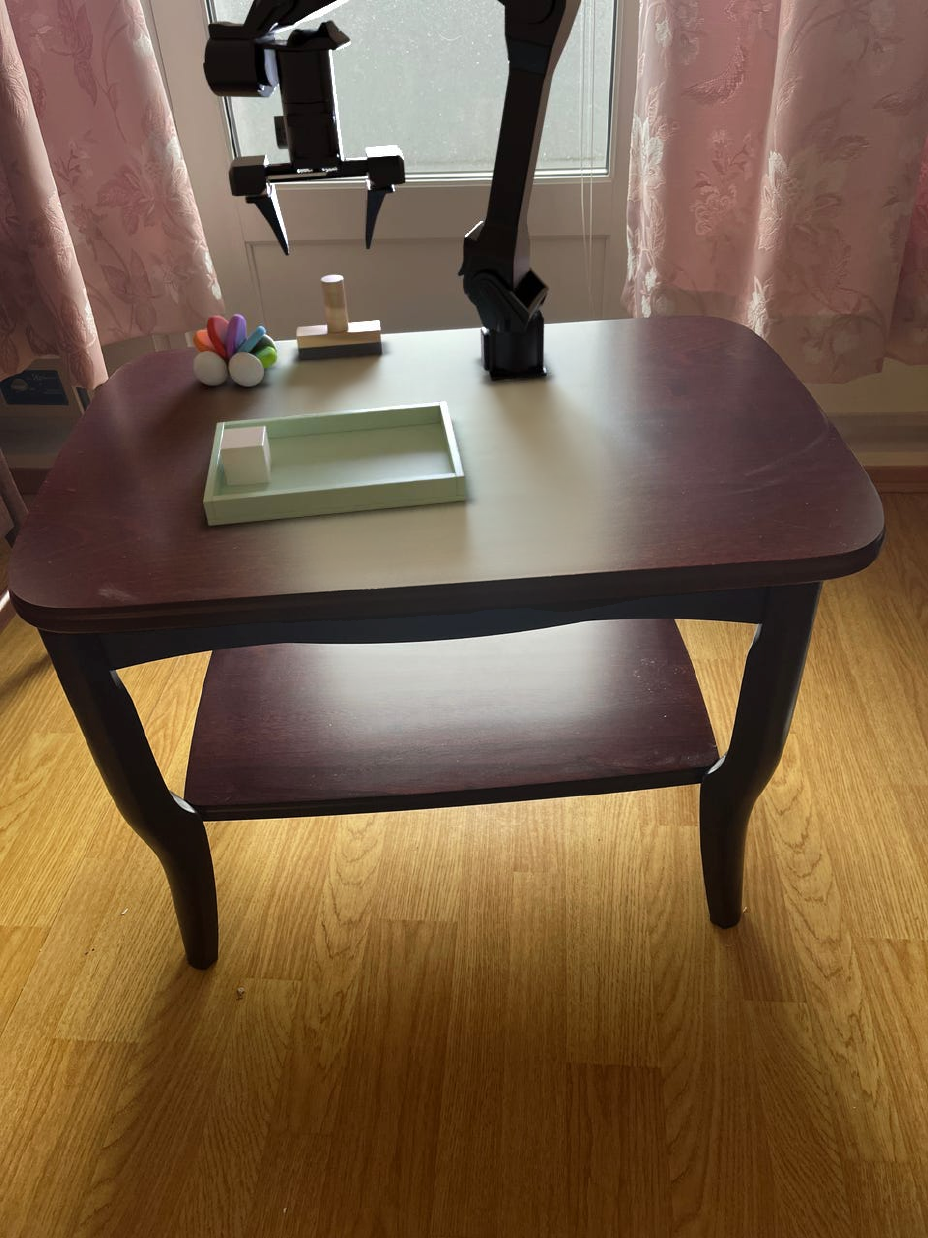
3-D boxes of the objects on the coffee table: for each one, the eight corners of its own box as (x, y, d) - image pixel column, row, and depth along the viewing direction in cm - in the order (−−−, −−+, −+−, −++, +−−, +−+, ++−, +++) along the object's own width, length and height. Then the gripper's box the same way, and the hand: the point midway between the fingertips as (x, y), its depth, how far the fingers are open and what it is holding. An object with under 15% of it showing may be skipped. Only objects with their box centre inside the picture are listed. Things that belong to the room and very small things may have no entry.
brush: (300, 350, 117) (289, 277, 111) (381, 343, 118) (374, 270, 112) (299, 360, 115) (288, 285, 109) (382, 353, 115) (375, 279, 110)
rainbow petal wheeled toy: (213, 359, 116) (201, 300, 111) (290, 361, 114) (280, 302, 110) (187, 389, 109) (172, 328, 105) (267, 392, 108) (256, 330, 103)
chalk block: (272, 462, 94) (265, 425, 91) (269, 482, 91) (262, 445, 88) (231, 465, 94) (223, 429, 91) (227, 486, 91) (219, 449, 88)
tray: (447, 423, 100) (446, 401, 98) (466, 500, 88) (464, 475, 86) (221, 445, 98) (216, 422, 97) (208, 526, 86) (202, 501, 85)
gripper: (392, 79, 106) (403, 224, 116) (224, 90, 105) (249, 236, 114) (399, 97, 97) (411, 253, 107) (216, 110, 96) (244, 266, 106)
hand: (327, 251), depth 109 cm, fingers open, 9 cm apart
